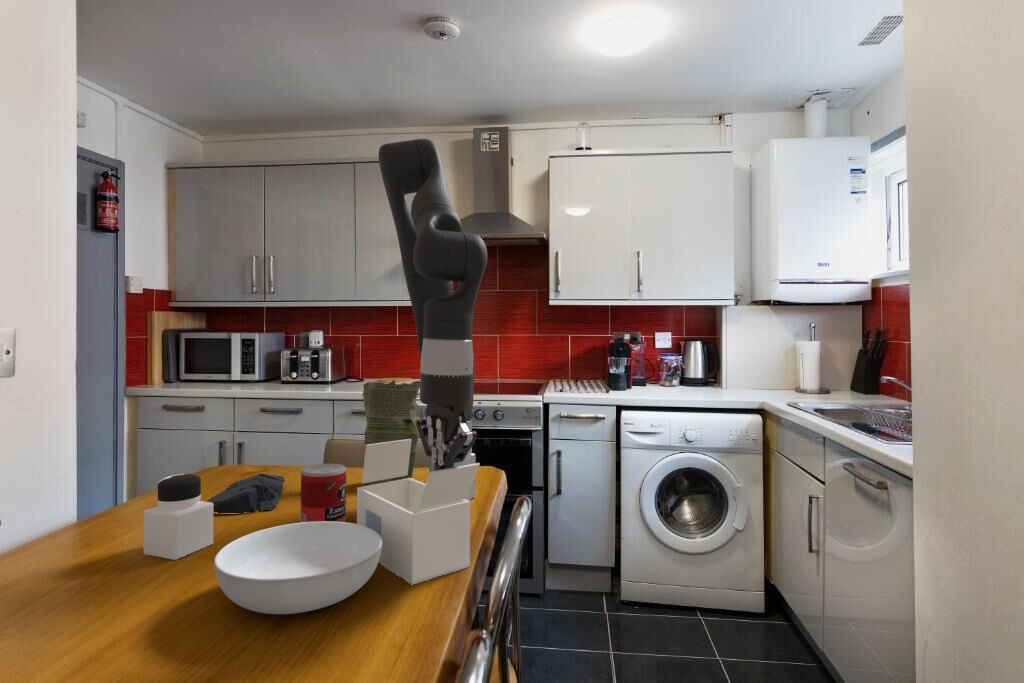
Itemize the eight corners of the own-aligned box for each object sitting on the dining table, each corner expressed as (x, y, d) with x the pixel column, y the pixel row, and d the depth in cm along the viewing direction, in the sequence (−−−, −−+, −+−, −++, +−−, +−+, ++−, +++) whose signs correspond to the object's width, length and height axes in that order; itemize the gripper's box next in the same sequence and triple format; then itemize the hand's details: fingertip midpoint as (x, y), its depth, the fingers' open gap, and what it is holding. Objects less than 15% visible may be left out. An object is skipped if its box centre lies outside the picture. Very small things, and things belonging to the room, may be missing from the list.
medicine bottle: (214, 544, 90) (214, 473, 90) (175, 561, 83) (175, 484, 83) (182, 539, 92) (183, 469, 92) (142, 554, 86) (142, 479, 86)
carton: (409, 534, 96) (410, 477, 96) (469, 566, 82) (470, 501, 82) (356, 548, 89) (356, 487, 89) (411, 586, 75) (412, 515, 75)
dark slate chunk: (295, 485, 128) (295, 465, 128) (273, 515, 107) (273, 491, 107) (226, 488, 126) (226, 468, 125) (188, 520, 104) (189, 495, 104)
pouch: (356, 484, 128) (357, 379, 128) (397, 475, 137) (397, 377, 137) (385, 493, 120) (385, 382, 120) (426, 483, 129) (426, 379, 129)
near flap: (417, 508, 76) (418, 509, 76) (429, 471, 73) (430, 473, 73) (465, 497, 81) (466, 498, 81) (478, 462, 79) (479, 464, 79)
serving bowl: (386, 624, 65) (386, 567, 65) (193, 651, 60) (193, 589, 60) (378, 557, 85) (378, 514, 85) (233, 572, 80) (233, 526, 79)
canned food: (332, 537, 94) (332, 474, 94) (291, 533, 96) (291, 471, 96) (353, 522, 101) (354, 464, 101) (315, 519, 103) (315, 462, 103)
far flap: (407, 475, 95) (406, 474, 95) (411, 439, 94) (410, 438, 94) (362, 483, 89) (362, 482, 89) (366, 445, 88) (365, 444, 88)
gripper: (495, 374, 75) (491, 496, 76) (443, 365, 85) (440, 474, 86) (451, 376, 70) (446, 507, 71) (401, 367, 80) (397, 482, 81)
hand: (443, 488), depth 78 cm, fingers closed
